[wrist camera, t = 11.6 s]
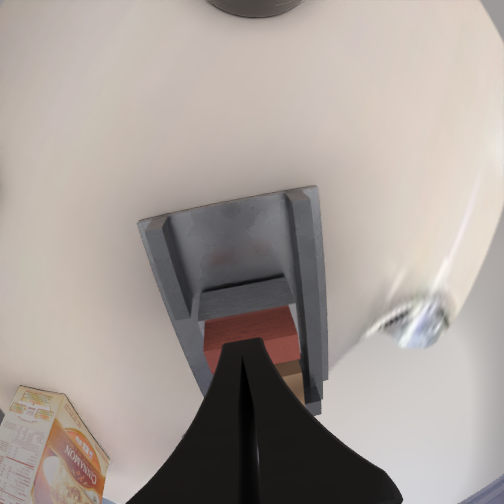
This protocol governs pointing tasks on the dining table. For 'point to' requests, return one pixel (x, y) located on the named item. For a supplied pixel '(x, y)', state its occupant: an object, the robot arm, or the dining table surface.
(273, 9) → the supplement bottle
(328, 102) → the dining table surface
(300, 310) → the grey tray
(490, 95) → the dining table surface
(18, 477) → the coffeecake box
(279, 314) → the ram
